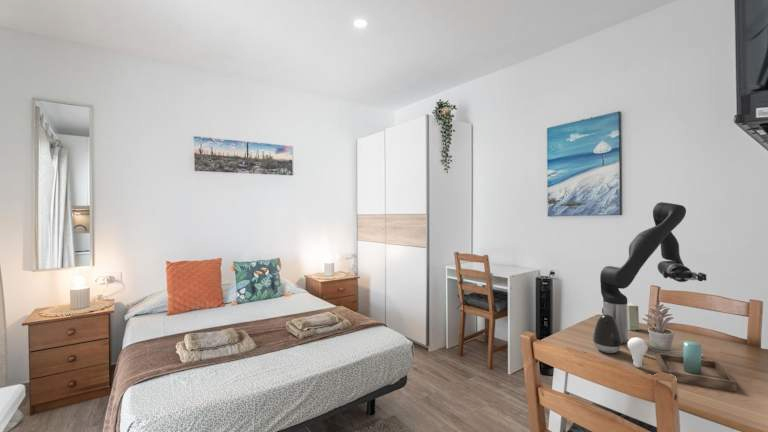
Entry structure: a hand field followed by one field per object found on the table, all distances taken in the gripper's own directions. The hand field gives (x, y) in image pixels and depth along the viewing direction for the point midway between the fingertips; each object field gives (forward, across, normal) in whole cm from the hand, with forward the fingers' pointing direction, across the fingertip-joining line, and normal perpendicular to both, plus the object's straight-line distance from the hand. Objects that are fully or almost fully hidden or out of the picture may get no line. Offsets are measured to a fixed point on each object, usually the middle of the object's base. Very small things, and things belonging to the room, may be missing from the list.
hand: (687, 278), depth 148 cm
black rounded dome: (+19, -30, +30) cm, 47 cm away
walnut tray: (+30, -5, +30) cm, 43 cm away
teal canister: (+30, -5, +29) cm, 42 cm away
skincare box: (-20, -18, +30) cm, 40 cm away
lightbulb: (+32, -21, +30) cm, 49 cm away
